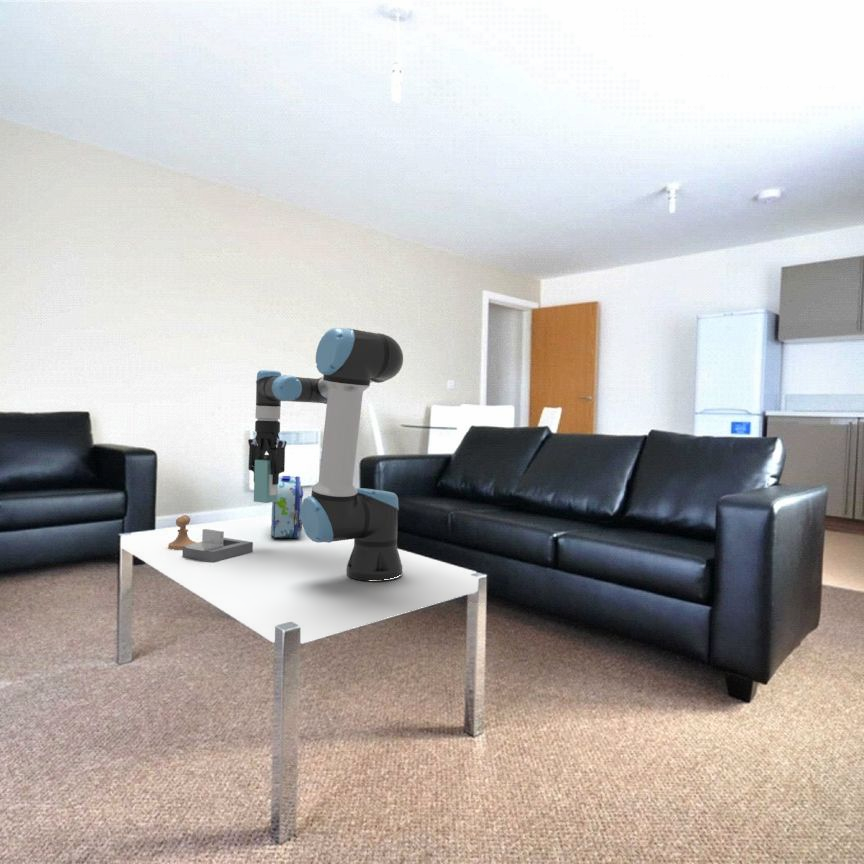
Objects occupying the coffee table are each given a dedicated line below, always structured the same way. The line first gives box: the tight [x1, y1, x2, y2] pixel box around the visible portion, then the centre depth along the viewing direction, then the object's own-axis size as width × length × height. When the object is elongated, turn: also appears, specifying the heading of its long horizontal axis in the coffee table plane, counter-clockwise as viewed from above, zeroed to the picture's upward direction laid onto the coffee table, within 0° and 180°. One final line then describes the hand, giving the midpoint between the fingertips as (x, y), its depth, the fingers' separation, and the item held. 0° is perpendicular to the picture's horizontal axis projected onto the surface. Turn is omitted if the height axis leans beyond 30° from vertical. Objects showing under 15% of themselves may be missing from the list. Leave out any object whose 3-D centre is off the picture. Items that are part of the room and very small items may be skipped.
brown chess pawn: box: [168, 514, 197, 551], centre depth 182 cm, size 8×10×8 cm
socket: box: [181, 537, 254, 563], centre depth 175 cm, size 12×16×3 cm
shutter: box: [186, 528, 225, 551], centre depth 170 cm, size 7×7×4 cm
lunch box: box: [270, 475, 304, 540], centre depth 209 cm, size 26×11×21 cm, turn 14°
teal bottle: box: [253, 454, 278, 504], centre depth 182 cm, size 5×5×15 cm
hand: (265, 494), depth 182 cm, fingers closed on teal bottle, 5 cm apart
